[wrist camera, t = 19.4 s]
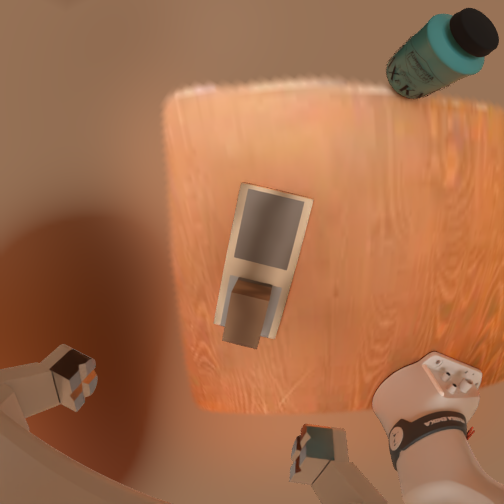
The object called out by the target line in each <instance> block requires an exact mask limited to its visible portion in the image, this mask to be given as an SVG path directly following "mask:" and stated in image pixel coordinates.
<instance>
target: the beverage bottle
mask: <svg viewBox="0 0 504 504" xmlns="http://www.w3.org/2000/svg"><path fill="white" fill-rule="evenodd" d="M498 43H499V37H498V33H497V31H496V28H495V27H494V25H493V24H492V22H491V21H490V20H489V19H488V18H487V17H486V16H485V15H484V14H482V13H481V12H480V11H478V10H476V9H473V8H466V9H463V10H462V11H460V12H458V13H456V14H455V15H453V16H452V15H449V14H438V15H435V16H433V17H432V18H431V19H430V20H429V21H428V23H427V24H426V25H425V26H424V27H423V28H422V29H421V30H420V31H419V32H418V33H417V34H415V35H414V36H412V38H411V39H409V40H408V42H407V43H406V44H405V45H403V47H402V48H400V50H399V51H398V52H397V53H396V54H395V55H394V56H393V57H392V58H391V59H390V60H389V62H388V64H387V71H386V73H387V78H388V81H389V83H390V85H391V86H392V88H393V89H394V90H395V91H396V92H397V93H399V94H400V95H402V96H404V97H406V98H409V99H410V98H412V99H416V98H420V97H423V96H425V95H427V94H428V95H430V94H431V93H432V94H433V92H435V91H438V90H440V89H441V88H443V87H445V86H449V85H450V84H452V83H453V82H456V81H458V80H460V79H462V78H464V77H467V76H469V75H474V74H476V73H478V72H479V71H480V70H481V69H482V67H483V64H484V56H486V55H488V54H489V53H490V52H492V51H493V50H494V49H496V48H497V46H498ZM428 95H427V96H428ZM425 97H426V96H425Z"/></svg>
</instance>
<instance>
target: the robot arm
mask: <svg viewBox="0 0 504 504" xmlns="http://www.w3.org/2000/svg"><path fill="white" fill-rule="evenodd" d="M437 360H438V361H437ZM436 361H437V362H436ZM95 367H96V365H95V360H94V359H92V358H90V357H88V356H86V355H84V354H82V353H80V352H78V351H76V350H74V349H72V348H70V347H69V346H67V345H65V344H63V345H60V346H59V347H58V348H57V349H56V350H55V351H53V352H52V353H51V354H50V355H49V356H48V357H46V358H45V359H44V360H43V361H42V362H41V363H40V364H39V363H32V364H26V365H22V366H17V367H12V368H6V369H1V370H0V504H172V503H169V502H166V501H163V500H160V499H158V498H155V497H152V496H149V495H147V494H144V493H142V492H139V491H136V490H134V489H132V488H129V487H127V486H125V485H122V484H120V483H118V482H116V481H114V480H112V479H109V478H107V477H105V476H103V475H101V474H99V473H97V472H95V471H93V470H91V469H89V468H87V467H85V466H83V465H82V464H80V463H78V462H76V461H75V460H73V459H71V458H69V457H68V456H66V455H64V454H63V453H61V452H59V451H58V450H56V449H54V448H53V447H51V446H50V445H48V444H46V443H45V442H44V441H42V440H40V439H39V438H38V437H36V436H35V435H33V434H32V433H30V432H29V426H28V424H27V422H26V420H25V418H26V417H29V416H31V415H34V414H37V413H39V412H42V411H45V410H47V409H49V408H52V407H55V406H57V405H59V404H62V405H64V406H66V407H68V408H70V409H72V410H74V411H75V412H77V411H78V410H79V409H80V407H81V406H82V405H83V404H84V403H85V397H87V396H90V395H91V394H92V393H93V391H94V390H95V387H96V385H97V375H96V373H95V371H94V370H93V369H94V368H95ZM481 380H482V372H481V370H479V369H477V368H474V367H472V366H469V365H467V364H465V363H462V362H460V361H457V360H455V359H452V358H450V357H448V356H445V355H443V354H440V353H438V352H431V353H429V354H428V355H426V356H425V357H424V358H422V359H421V360H420V361H418V362H417V363H414V364H412V365H409V366H407V367H404V368H402V369H400V370H398V371H397V372H395V373H394V374H392V375H391V376H389V377H388V378H387V379H386V380H385V381H384V382H383V383H382V384H381V385H380V386H379V388H378V389H377V391H376V393H375V395H374V397H373V401H372V408H373V411H374V413H375V414H376V416H377V417H378V419H379V420H380V422H381V424H382V426H383V428H384V430H385V432H386V434H387V436H388V439H389V449H390V454H391V459H392V462H393V466H394V468H395V470H396V471H397V472H398V476H399V481H400V486H401V491H402V497H403V502H404V504H504V485H503V484H501V483H498V482H497V481H495V480H494V479H492V478H491V477H490V476H489V475H487V474H486V473H485V471H484V470H483V469H482V468H481V466H480V464H479V463H478V461H477V459H476V457H475V455H474V453H473V451H472V449H471V448H470V445H469V443H468V441H467V440H468V439H469V438H470V437H471V435H472V434H473V433H474V432H475V431H473V432H472V433H471V431H472V429H473V427H471V428H470V430H469V431H468V432H467V425H466V424H467V423H468V422H469V420H470V419H471V417H472V416H473V414H474V413H475V411H476V409H477V407H478V404H479V400H480V395H479V392H478V388H479V386H480V383H481ZM470 433H471V434H470ZM291 459H292V461H293V462H294V463H293V464H292V466H291V468H290V480H289V481H290V482H294V483H301V484H308V485H311V487H312V488H313V490H314V492H315V493H316V495H317V496H318V498H319V500H320V502H321V503H322V504H388V502H387V500H386V499H385V498H384V497H383V496H382V495H381V494H380V493H379V492H378V491H377V489H376V488H375V487H374V486H373V485H372V484H371V483H370V482H369V480H368V479H367V478H366V477H365V476H364V475H363V474H362V473H361V472H360V470H359V469H358V468H357V467H356V466H355V465H354V463H353V462H349V457H348V449H347V440H346V431H345V430H344V429H341V428H333V427H326V426H319V425H312V424H304V425H303V427H302V428H301V435H300V436H298V437H297V438H296V440H295V442H294V445H293V448H292V454H291Z"/></svg>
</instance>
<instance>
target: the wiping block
mask: <svg viewBox="0 0 504 504" xmlns="http://www.w3.org/2000/svg"><path fill="white" fill-rule="evenodd" d="M271 290H272V285H271V284H267V283H262V282H258V281H254V280H250V279H246V278H242V277H239V278H238V280H237V282H236V284H235V286H234V288H233V290H232V292H231V297H230V302H229V307H228V312H227V318H226V323H225V328H224V334H223V339H222V341H226V342H230V343H233V344H237V345H241V346H245V347H250V348H254V349H257V347H258V343H259V339H260V335H261V331H262V328H263V324H264V320H265V316H266V312H267V308H268V304H269V300H270V295H271Z"/></svg>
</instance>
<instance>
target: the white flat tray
mask: <svg viewBox="0 0 504 504" xmlns="http://www.w3.org/2000/svg"><path fill="white" fill-rule="evenodd" d="M312 204H313V199H312V198H308V197H304V196H300V195H296V194H292V193H288V192H284V191H280V190H276V189H271V188H267V187H263V186H258V185H254V184H249V183H245V182H242V183H241V186H240V190H239V195H238V200H237V205H236V210H235V215H234V220H233V224H232V229H231V234H230V239H229V244H228V250H227V255H226V260H225V265H224V270H223V275H222V280H221V286H220V291H219V296H218V302H217V307H216V313H215V318H214V323H213V324H217V325H220V326H224V327H225V323H226V318H227V312H228V307H229V302H230V297H231V292H232V290H233V288H234V286H235V284H236V282H237V280H238V278H239V277H242V278H246V279H250V280H254V281H258V282H262V283H267V284H271V285H272V290H271V295H270V300H269V304H268V308H267V312H266V316H265V320H264V324H263V328H262V331H261V335H260V336H262V337H267V338H271V339H275V337H276V334H277V331H278V327H279V324H280V321H281V317H282V314H283V311H284V307H285V304H286V300H287V297H288V293H289V290H290V286H291V283H292V279H293V276H294V272H295V268H296V265H297V261H298V258H299V254H300V250H301V246H302V243H303V239H304V235H305V231H306V227H307V224H308V220H309V216H310V212H311V208H312Z"/></svg>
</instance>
